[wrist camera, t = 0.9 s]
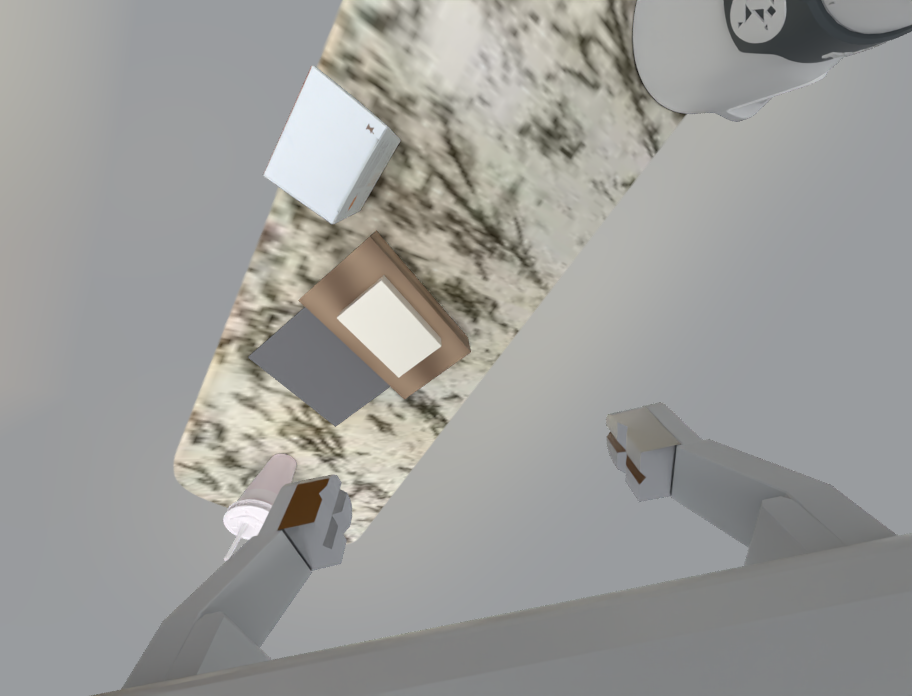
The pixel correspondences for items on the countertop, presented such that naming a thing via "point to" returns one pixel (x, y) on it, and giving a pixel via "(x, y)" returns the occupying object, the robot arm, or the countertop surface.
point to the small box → (330, 150)
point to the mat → (319, 368)
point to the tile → (390, 327)
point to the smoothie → (258, 499)
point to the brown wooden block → (382, 260)
